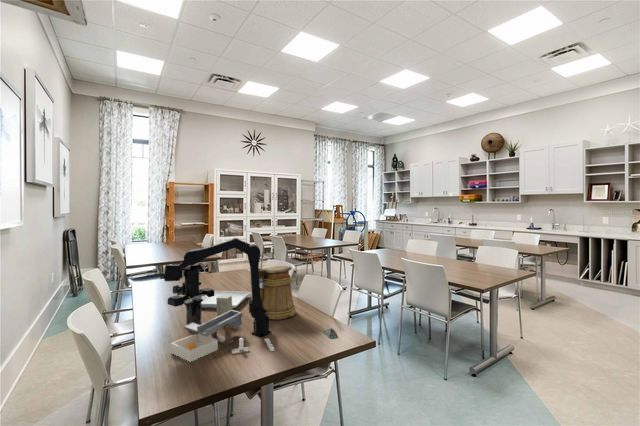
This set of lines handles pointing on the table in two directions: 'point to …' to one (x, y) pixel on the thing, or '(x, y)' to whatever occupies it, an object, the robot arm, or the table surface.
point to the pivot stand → (223, 339)
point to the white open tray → (202, 349)
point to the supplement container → (197, 317)
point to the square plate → (236, 295)
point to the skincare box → (223, 304)
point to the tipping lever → (217, 323)
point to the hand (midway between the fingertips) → (192, 316)
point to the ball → (191, 346)
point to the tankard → (277, 292)
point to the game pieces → (241, 349)
